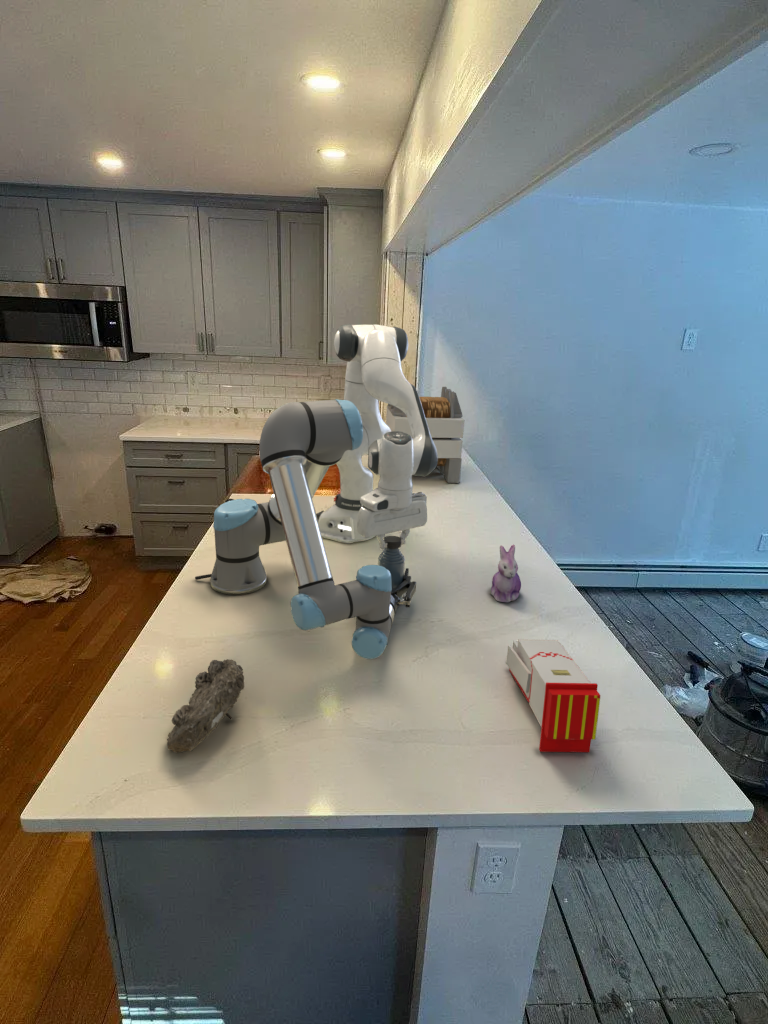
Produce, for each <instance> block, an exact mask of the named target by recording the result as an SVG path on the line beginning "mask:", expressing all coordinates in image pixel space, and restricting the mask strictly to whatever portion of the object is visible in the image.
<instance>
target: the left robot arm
mask: <svg viewBox="0 0 768 1024" xmlns="http://www.w3.org/2000/svg"><path fill="white" fill-rule="evenodd" d="M362 440H363V425H362V419H361V416H360V413H359V411H358V409H357V407H356V406H355V405H354V404H353V403H352V402H351V401H348V400H344V399H338V398H335V399H326V400H324V399H323V400H311V401H291V402H286V403H284V404H281V405H280V406H279V407H277V408H276V409H274V410H273V411H272V412H271V414H270V415H269V416H268V418H267V419H266V421H265V423H264V425H263V427H262V430H261V433H260V438H259V447H258V448H259V449H258V450H259V451H258V452H259V460H260V464H261V467H262V471H263V473H266V474H268V476H269V480H270V483H271V488H272V492H273V494H272V495H271V496H270V498H269V501H267V502H260V503H257V501H256V500H254V499H250V498H244V499H243V498H236V499H234V500H231V501H228V502H225V501H224V502H223V503H222V504H219V505H218V507H216V508H215V510H214V512H213V524H212V527H213V531H214V547H215V561H214V565H213V569H212V570H211V571H212V572H211V573H208V574H202V575H197V576H195V577H194V579H195V581H199V580H204V579H208V578H209V579H210V586H211V588H212V589H213V590H214V591H216V592H218V593H220V594H224V595H235V596H236V595H238V596H239V595H245V594H250V593H254V592H257V591H259V590H261V589H263V587H264V586H265V585H266V584H267V582H268V581H267V572H266V568H265V565H264V563H263V561H262V559H261V556H260V547H261V546H266V545H270V544H276V543H280V542H285V543H286V546H287V551H288V553H289V554H288V555H289V559H290V562H291V565H292V570H293V574H294V577H295V582H296V586H297V590H298V593H297V594H295V595H294V596H293V597H292V598H291V600H290V608H291V609H290V613H291V617H292V620H293V622H294V624H295V626H296V627H297V628H299V629H300V630H302V631H308V630H309V631H311V630H314V629H318V628H319V629H320V628H324V627H325V626H329V625H332V624H335V623H339V622H341V621H345V620H350V619H353V618H355V628H354V631H353V633H352V639H351V646H352V649H353V651H354V653H355V654H356V655H357V656H359V657H360V658H363V659H366V660H373V659H377V658H379V657H381V655H382V654H383V653H384V652H385V649H386V647H387V646H388V641H389V636H390V632H391V629H392V626H393V622H394V619H395V616H396V612H397V608H399V606H400V605H404V606H405V608H410V607H411V602H412V599H413V597H414V596H415V594H416V592H417V581H412V576H411V575H409V571H410V568H408V567H405V569H404V577H403V582H402V583H401V584H400V585H399V586H397V587H396V588H393V589H392V581H391V573H390V572H389V570H388V569H386V568H385V567H382V566H379V565H378V564H366V565H363V566H362V567H359V568H358V570H357V572H356V576H355V579H354V580H351V581H346V582H342V583H338V584H336V583H335V581H334V578H333V574H332V570H331V566H330V563H329V559H328V554H327V550H326V546H325V543H324V538H323V537H322V535H321V531H320V527H319V523H318V519H317V516H316V514H317V512H316V508H315V504H314V501H313V498H314V496H315V494H316V492H317V491H318V489H319V487H320V485H321V483H322V482H323V479H324V478H325V476H326V474H327V473H328V470H329V468H330V467H332V466H334V465H337V464H336V463H338V462H339V461H340V459H341V458H342V456H343V454H344V452H345V451H347V450H354V449H357V448H359V447H360V445H361V443H362ZM402 595H403V597H402V599H400V598H399V597H400V596H402Z"/></svg>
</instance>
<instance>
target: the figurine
mask: <svg viewBox="0 0 768 1024" xmlns="http://www.w3.org/2000/svg"><path fill="white" fill-rule="evenodd" d="M515 552H516V545H515V544H512V545H510V547H509V549H508V551H507V550H506V548H505V547H504V546H503V545H500V546H499V562H498V564H497V570H498V571H497V572H495V573H494V574H493V576H492V579H491V588H490V593H491V596H492V597H493V598H494V600H496V601H497V602H501V603H510V602H511V601H512V602H514V601H516V600H517V599H518V598H519V596H520V592H521V590H522V581H521V578H520V575H519V574H518V571H519V565H518V563H517V560H516V559H515Z"/></svg>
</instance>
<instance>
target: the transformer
mask: <svg viewBox="0 0 768 1024" xmlns="http://www.w3.org/2000/svg"><path fill="white" fill-rule="evenodd" d="M440 393H441V394H440V396H419V398H420V401H421V404H422V408H423V411H424V415H425V418H426V421H427V425H428V428H429V432H430V435H431V437H432V440H433V442H434V444H435V447H436V450H437V455H438V463H437V466H436V468H437V470H438V469H439V473H440V474H441V475H443V478H444V479H445V481H446V482H447V483H449V484H455V483H456V484H459V483H461V472H462V461H463V460H462V453H463V442H464V441H463V440H462V439H463V438H464V431H465V430H464V429H465V419H464V418H463V411H462V408H461V405H460V402H459V398H458V395H457V392H455V391H453V390H452V389H451V388H447V386H442V387H441V392H440ZM385 414H386V415H385V423H386V424H387V425H388V426H389V428H390V430H391V432H392V431H400V432H404V433H407V434H409V435H410V436H411V437H412V439H413V436H412V432H411V429H410V425H409V422H408V418H407V416H406V414H405V413H404V412H403V411H402V410H400V409H399V408H397V407H395V406H393V405H390V404H388V403H387V405H386V413H385Z"/></svg>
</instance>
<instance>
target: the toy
mask: <svg viewBox="0 0 768 1024" xmlns="http://www.w3.org/2000/svg"><path fill="white" fill-rule="evenodd" d="M505 659H506V660H505V665H506V666H507V667H508V671H509V673H510V674H511V676H512V678H513V679H514V681H515V682H516V685H517V686H518V688H519V690H520V691H521V692H522V694H523V697H525V699H526V701H527V703H529V707H530V709H531V711H532V712H533V714H534V716H535V718H536V720H537V722H538V724H539V726H540V728H541V729H540V739H539V748H538V751H539V752H540V753H543V752H544V753H590V752H591V744H592V743H591V742H592V740H596V736H597V727H598V720H599V719H598V718H599V710H600V704H601V703H600V702H601V696H602V695H601V694H600V693H599V692H598V687H599V686H598V683H595V682H594V683H592V682H591V681H590V679H589V678H588V677H587V676H586V674H585V673H584V671H583V670H582V669H581V668H580V666H579V665H578V664H577V663H576V662H575V661H576V660H574V659H573V658H572V656H571V655H570V653H568V651H567V650H566V648H565V647H564V645H563V644H562V643H561V642H560V641H559V639H529V638H528V639H524V638H521V639H517V640H512V645H511V644H510V645H509V644H508V646H507V653H506V658H505Z"/></svg>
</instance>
